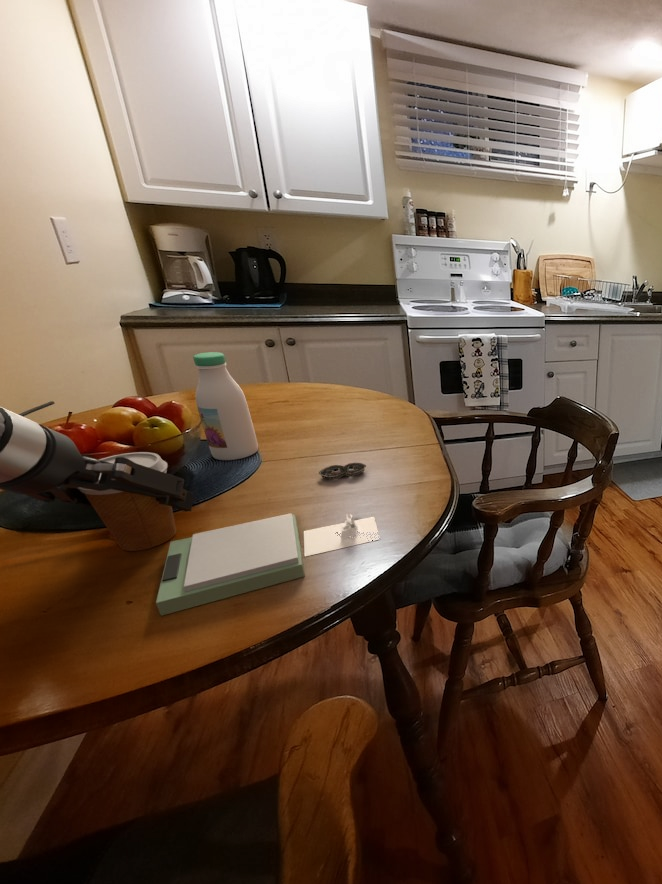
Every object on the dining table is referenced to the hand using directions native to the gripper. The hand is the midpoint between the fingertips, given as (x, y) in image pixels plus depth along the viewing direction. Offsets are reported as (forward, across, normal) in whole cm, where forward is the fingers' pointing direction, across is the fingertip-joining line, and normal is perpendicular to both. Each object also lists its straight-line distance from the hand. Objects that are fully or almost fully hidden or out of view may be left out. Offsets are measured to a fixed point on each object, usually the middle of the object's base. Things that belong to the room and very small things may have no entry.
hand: (154, 503), depth 73 cm
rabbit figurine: (-1, +27, -6) cm, 28 cm away
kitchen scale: (-5, +15, -10) cm, 19 cm away
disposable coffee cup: (+1, 0, -5) cm, 5 cm away
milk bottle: (+22, -2, +16) cm, 27 cm away
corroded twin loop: (+14, +21, +8) cm, 27 cm away
